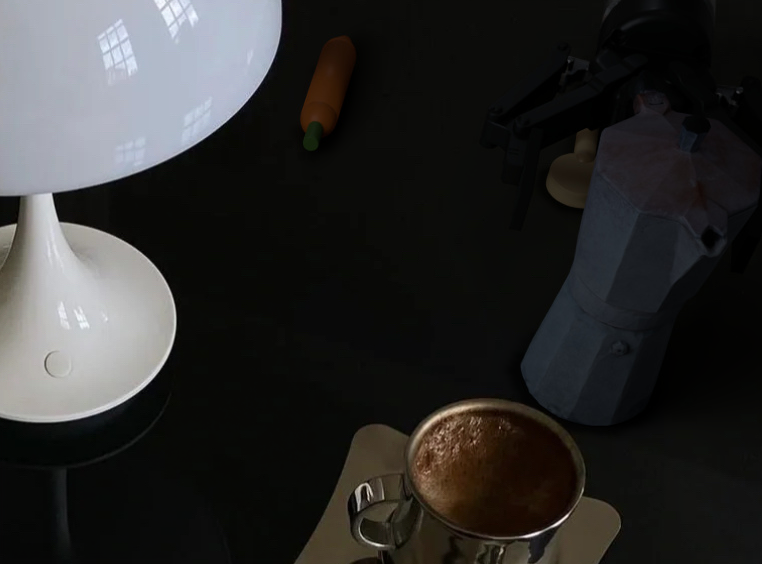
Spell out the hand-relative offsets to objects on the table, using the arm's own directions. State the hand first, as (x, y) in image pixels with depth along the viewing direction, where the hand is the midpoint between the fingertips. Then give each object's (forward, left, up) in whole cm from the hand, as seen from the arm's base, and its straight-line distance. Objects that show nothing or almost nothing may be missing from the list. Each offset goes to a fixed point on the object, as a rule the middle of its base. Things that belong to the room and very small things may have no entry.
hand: (631, 233), depth 80 cm
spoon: (+2, -23, -11) cm, 25 cm away
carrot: (+22, -23, -11) cm, 33 cm away
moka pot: (0, +1, -11) cm, 11 cm away
